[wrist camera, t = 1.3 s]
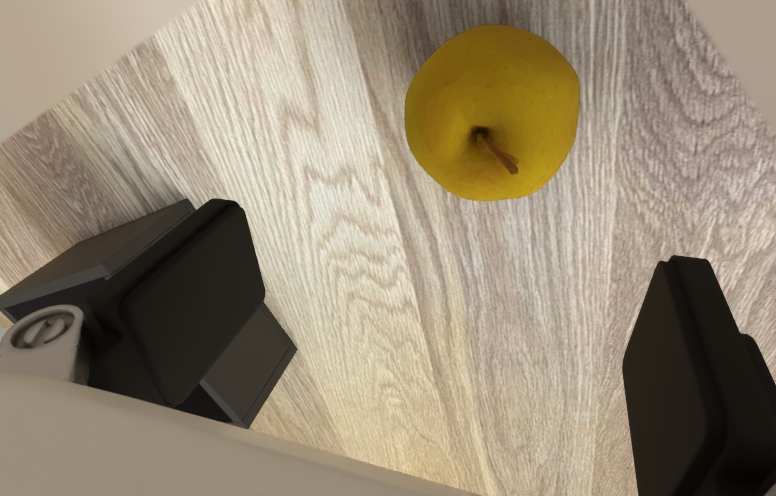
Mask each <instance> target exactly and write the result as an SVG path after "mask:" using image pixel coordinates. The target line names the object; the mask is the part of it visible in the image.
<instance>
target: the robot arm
mask: <svg viewBox="0 0 776 496" xmlns="http://www.w3.org/2000/svg"><path fill="white" fill-rule="evenodd" d="M264 298H265V287H264V284H263V280H262V276H261V272H260V268H259V264H258V260H257V256H256V253H255V249H254V245H253V241H252V237H251V233H250V229H249V226H248V222H247V218H246V214H245V211H244V210H243V208H241V207H240V206H239V204H238V203H237V202H235V201H232V200H224V199H211V200H209V201H208V202H206V203H205V204H204V205H203V206H201V207H200V208H199V209H198V210H196V211H195V212H194V213H192V214H191V215H190V216H189V217H187V218H186V219H185V220H183V221H182V222H181V223H180V224H178V225H177V226H176V227H175V228H173V229H172V230H171V231H169V232H168V233H167V234H166V235H164V236H163V237H162V238H160V239H159V240H158V241H157V242H155V243H154V244H153V245H151V246H150V247H149V248H148V249H146V250H145V251H144V252H143V253H141V254H140V255H139V256H137V257H136V258H135V259H134V260H132V261H131V262H130V263H128V264H127V265H126V266H125V267H123V268H122V269H121V270H120V271H118V272H117V273H116V274H114V275H113V276H112V277H111V278H109V279H108V280H107V281H105V282H104V283H103V284H102V285H100V286H99V287H98V288H96V289H95V290H94V291H93V292H91V293H90V294H89V295H88V296H86V297H85V298H84V299H85V301H86V302H87V304H88V306H89V308H90V311H89V312H88V313H87V314H85V315H84V314H83V312H82V311H81V310H80V309H79V307H76V306H73V305H56V306H50V307H47V308H44V309H41V310H38V311H36V312H34V313H32V314H30V315H28V316H25V317H24V318H22V319H21V320H19V321H18V322H17V323H15V324H14V325H13V326H12V327H11V328H10V329H9V330H8V331H7V332H6V333H5V335H4V337H3V338H2V340H1V342H0V496H481V495H478V494H474V493H471V492H467V491H464V490H460V489H457V488H453V487H450V486H446V485H443V484H439V483H436V482H432V481H429V480H425V479H422V478H418V477H415V476H411V475H408V474H404V473H401V472H397V471H394V470H390V469H387V468H383V467H380V466H376V465H373V464H369V463H366V462H362V461H358V460H355V459H351V458H348V457H344V456H341V455H337V454H334V453H330V452H326V451H323V450H319V449H316V448H312V447H309V446H305V445H301V444H298V443H294V442H291V441H287V440H284V439H280V438H276V437H273V436H269V435H266V434H262V433H258V432H255V431H251V430H248V429H244V428H240V427H237V426H233V425H230V424H226V423H222V422H219V421H215V420H212V419H208V418H204V417H201V416H197V415H193V414H190V413H186V412H182V411H179V410H175V409H174V408H175V407H176V405H179V404H181V403H183V402H184V401H185V400H186V399H187V397H188V396H189V395H190V394H191V392H192V391H193V390H194V389H195V387H196V386H197V385H198V384H199V382H200V381H201V380H202V379H203V377H204V376H205V375H206V373H207V372H208V371H209V370H210V368H211V367H212V366H213V365H214V363H215V362H216V361H217V360H218V358H219V357H220V356H221V355H222V353H223V352H224V351H225V350H226V348H227V347H228V346H229V344H230V343H231V342H232V341H233V339H234V338H235V337H236V336H237V334H238V333H239V332H240V331H241V329H242V328H243V327H244V326H245V324H246V323H247V322H248V321H249V319H250V318H251V317H252V316H253V314H254V313H255V312H256V310H257V309H258V308H259V307H260V305H261V304H262V303H263V301H264ZM622 371H623V380H624V388H625V395H626V403H627V411H628V418H629V426H630V434H631V441H632V449H633V457H634V465H635V472H636V480H637V488H638V495H639V496H776V385H775V382H774V380H773V378H772V376H771V374H770V372H769V369H768V367H767V365H766V363H765V361H764V358H763V356H762V354H761V352H760V350H759V347H758V345H757V344H756V342H755V340H754V339H753V338H752V337H751V336H749V335H748V334H742V333H740V332H739V330H738V327H737V325H736V323H735V320H734V318H733V316H732V313H731V311H730V309H729V306H728V304H727V302H726V299H725V297H724V295H723V292H722V290H721V288H720V285H719V283H718V281H717V278H716V276H715V274H714V271H713V269H712V267H711V264H710V262H709V261H708V260H706V259H701V258H693V257H684V256H676V255H673V256H671V258H670V259H669V261H668V262H665V261H660V262H658V264H657V266H656V268H655V271H654V274H653V277H652V279H651V282H650V285H649V288H648V291H647V293H646V296H645V299H644V302H643V304H642V307H641V310H640V313H639V316H638V318H637V321H636V324H635V327H634V329H633V332H632V335H631V338H630V340H629V343H628V346H627V349H626V352H625V354H624V358H623V366H622Z"/></svg>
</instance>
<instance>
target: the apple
mask: <svg viewBox="0 0 776 496" xmlns="http://www.w3.org/2000/svg"><path fill="white" fill-rule="evenodd" d="M579 104H580V87H579V81H578V76H577V74H576V72H575V70H574V69H573V67H572V66H571V65H570V63H569V62H568V61H567V60H566V58H565V57H564V56H563V55H562V54H561V53H560V52H559V51H558V50H557V49H556V48H554V47H553V46H552V45H551V44H550V43H549V42H547V41H546V40H544V39H543V38H541V37H539V36H537V35H535V34H533V33H531V32H529V31H525V30H521V29H518V28H515V27H512V26H507V25H481V26H477V27H474V28H471V29H469V30H467V31H465V32H463V33H461V34H459V35H457V36H455V37H453V38H451V39H450V40H448V41H447V42H446V43H444V44H443V45H442V46H441V47H439V48H438V49H437V50H436V51H435V52H434V53H433V54H432V56H431V57H430V58H429V59H428V60H427V61H426V62H425V63H424V64H423V65H422V66H421V68H420V69H419V70H418V72H417V73H416V75H415V76H414V78H413V80H412V82H411V84H410V86H409V89H408V92H407V95H406V100H405V118H404V120H405V130H406V136H407V141H408V145H409V147H410V150H411V152H412V153H413V155H414V157H415V159H416V160H417V162H418V163H419V164H420V165H421V166H422V167H423V169H424V170H425V171H426V172H427V173H428V174H429V175H430V176H431V177H432V178H433V179H434V180H435V181H436V182H437V183H439V184H440V185H441V186H442V187H443V188H444V189H446V190H447V191H448V192H451V193H452V194H454V195H456V196H458V197H461V198H464V199H469V200H476V201H493V200H504V199H514V198H521V197H524V196H527V195H529V194H531V193H534V192H536V191H537V190H539V189H540V188H541V187H543V186H544V185H545V184H546V183H547V182H548V181H549V180H550V179H551V178H552V177H553V176H554V175H555V173H556V172H557V171H558V169H559V168H560V166H561V165H562V163H563V162H564V160H565V159H566V157H567V155H568V153H569V152H570V150H571V147H572V145H573V143H574V140H575V137H576V131H577V123H578V114H579Z"/></svg>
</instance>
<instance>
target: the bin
mask: <svg viewBox="0 0 776 496" xmlns="http://www.w3.org/2000/svg"><path fill="white" fill-rule="evenodd" d="M195 211H196V210H195V209H194V208H193V206H192V205H191V203H190V202H189V201H188V199H185V200H183V201H180V202H178V203H175V204H173V205H170V206H168V207H165V208H163V209H160V210H158V211H155V212H153V213H151V214H148V215H146V216H143V217H141V218H138V219H136V220H133V221H131V222H128V223H126V224H123V225H121V226H118V227H116V228H114V229H111V230H109V231H106V232H104V233H101V234H99V235H96V236H94V237H91V238H89V239H86V240H84V241H81V242H79V243H77V244H75V245H74V246H73V247H71V248H69V249H68V250H66V251H65V252H63V253H62V254H61V255H59V256H58V257H56V258H55V259H53V260H52V261H50V262H49V263H47V264H46V265H44V266H43V267H41V268H40V269H38V270H37V271H35V272H34V273H32V274H31V275H29V276H28V277H26V278H25V279H24V280H22V281H21V282H19V283H18V284H16V285H15V286H13V287H12V288H10V289H9V290H7V291H6V292H4V293H3V294H1V295H0V311H1V312H2V313H3V314H4V315H5V316H6V317H7V318H8V319H9V320H11V321H12V322H13V323H14V324H15V323H17V322H18V321H19V320H21V319H22V318H24V317H25V316H28V315H30V314H32V313H34V312H36V311H38V310H41V309H44V308H47V307H50V306H56V305H73V306H76V307H79V309H80V310H81V311H82V312H83V314H84V315H85V314H87V313H88V312H89V311H90V308H89V306H88V304H87V302H86V301H85V299H84V298H85V297H86V296H88V295H89V294H90V293H91V292H93V291H94V290H95V289H96V288H98V287H99V286H100V285H102V284H103V283H104V282H105V281H107V280H108V279H109V278H111V277H112V276H113V275H114V274H116V273H117V272H118V271H120V270H121V269H122V268H123V267H125V266H126V265H127V264H128V263H130V262H131V261H132V260H134V259H135V258H136V257H137V256H139V255H140V254H141V253H143V252H144V251H145V250H146V249H148V248H149V247H150V246H151V245H153V244H154V243H155V242H157V241H158V240H159V239H160V238H162V237H163V236H164V235H166V234H167V233H168V232H169V231H171V230H172V229H173V228H175V227H176V226H177V225H178V224H180V223H181V222H182V221H183V220H185V219H186V218H187V217H189V216H190V215H191V214H192V213H194V212H195ZM296 351H297V348H296V347H295V345H294V344H293V343H292V341H291V340H290V339H289V337H288V336H287V334H286V333H285V332H284V330H283V329H282V328H281V326H280V325H279V324H278V322H277V321H276V319H275V318H274V317H273V315H272V314H271V313H270V311H269V310H268V308H267V307H266V306H265V304H264V303H262V304H261V305H260V307H259V308H258V309H257V310H256V312H255V313H254V314H253V316H252V317H251V318H250V319H249V321H248V322H247V323H246V324H245V326H244V327H243V328H242V329H241V331H240V332H239V333H238V334H237V336H236V337H235V338H234V339H233V341H232V342H231V343H230V344H229V346H228V347H227V348H226V350H225V351H224V352H223V353H222V355H221V356H220V357H219V358H218V360H217V361H216V362H215V363H214V365H213V366H212V367H211V368H210V370H209V371H208V372H207V373H206V375H205V376H204V377H203V379H202V380H201V381H200V382H199V384H198V385H197V386H196V387H195V389H194V390H193V391H192V392H191V394H190V395H189V396H188V397H187V399H186V400H185V401H184V402H183V403H181V404H179V405H176V407H175V408H174V409H175V410H179V411H182V412H186V413H190V414H193V415H197V416H201V417H204V418H208V419H212V420H215V421H219V422H222V423H226V424H230V425H233V426H237V427H240V428H244V429H249V427H250V425H251V424H252V422H253V421H254V419H255V417H256V416H257V414H258V413H259V411H260V409H261V408H262V406H263V404H264V403H265V401H266V400H267V398H268V396H269V395H270V393H271V392H272V390H273V388H274V387H275V385H276V384H277V382H278V380H279V379H280V377H281V375H282V374H283V372H284V371H285V369H286V367H287V366H288V364H289V363H290V361H291V359H292V358H293V356H294V355H295V353H296Z"/></svg>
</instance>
